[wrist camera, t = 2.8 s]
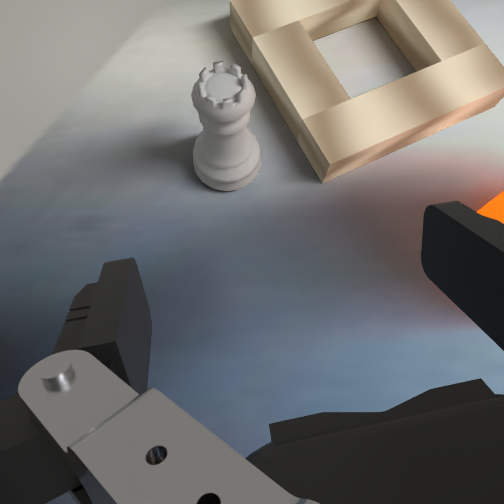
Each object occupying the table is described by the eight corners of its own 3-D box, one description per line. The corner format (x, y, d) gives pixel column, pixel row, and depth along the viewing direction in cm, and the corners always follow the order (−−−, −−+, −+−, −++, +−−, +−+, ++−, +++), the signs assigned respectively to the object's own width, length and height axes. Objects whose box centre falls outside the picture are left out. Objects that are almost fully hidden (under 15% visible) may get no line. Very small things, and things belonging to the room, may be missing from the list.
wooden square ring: (322, 183, 29) (329, 164, 26) (230, 29, 32) (229, 0, 30) (494, 106, 31) (516, 82, 28) (390, -30, 35) (401, -61, 32)
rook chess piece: (179, 164, 29) (157, 82, 21) (227, 122, 30) (222, 30, 22) (227, 207, 28) (223, 138, 20) (275, 163, 29) (287, 82, 21)
